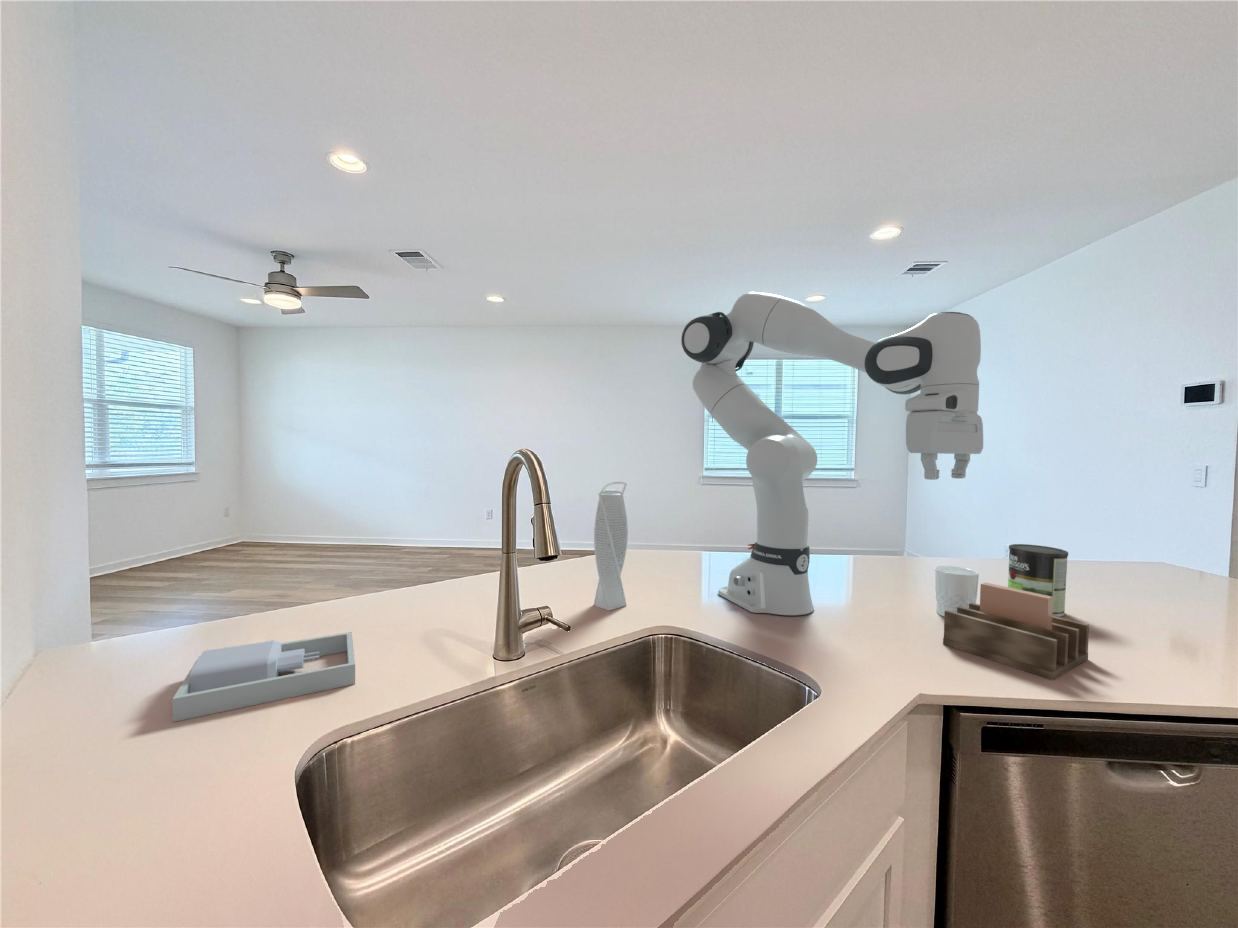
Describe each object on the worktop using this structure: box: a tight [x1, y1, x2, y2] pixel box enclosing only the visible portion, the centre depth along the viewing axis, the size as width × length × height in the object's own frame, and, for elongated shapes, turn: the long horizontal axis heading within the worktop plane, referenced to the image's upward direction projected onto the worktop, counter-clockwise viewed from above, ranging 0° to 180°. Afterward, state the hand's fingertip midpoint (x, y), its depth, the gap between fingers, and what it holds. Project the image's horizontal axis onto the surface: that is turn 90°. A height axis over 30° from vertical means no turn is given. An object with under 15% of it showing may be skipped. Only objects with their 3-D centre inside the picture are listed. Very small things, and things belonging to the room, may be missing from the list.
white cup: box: [934, 565, 980, 617], centre depth 106 cm, size 8×8×10 cm
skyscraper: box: [593, 481, 629, 611], centre depth 110 cm, size 8×8×28 cm
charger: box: [189, 639, 320, 693], centre depth 74 cm, size 5×9×15 cm
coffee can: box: [1007, 543, 1069, 618], centre depth 111 cm, size 10×10×14 cm
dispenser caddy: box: [171, 631, 356, 723], centre depth 74 cm, size 15×21×3 cm
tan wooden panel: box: [979, 582, 1053, 630], centre depth 87 cm, size 10×2×10 cm, turn 31°
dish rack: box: [942, 603, 1090, 681], centre depth 87 cm, size 16×15×6 cm
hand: (945, 478), depth 89 cm, fingers open, 8 cm apart
